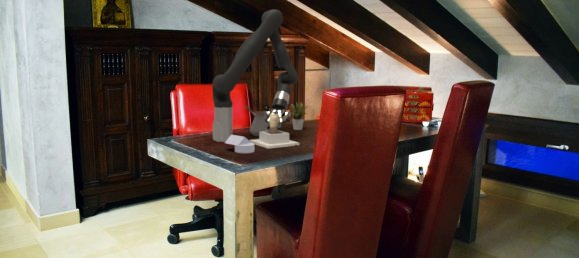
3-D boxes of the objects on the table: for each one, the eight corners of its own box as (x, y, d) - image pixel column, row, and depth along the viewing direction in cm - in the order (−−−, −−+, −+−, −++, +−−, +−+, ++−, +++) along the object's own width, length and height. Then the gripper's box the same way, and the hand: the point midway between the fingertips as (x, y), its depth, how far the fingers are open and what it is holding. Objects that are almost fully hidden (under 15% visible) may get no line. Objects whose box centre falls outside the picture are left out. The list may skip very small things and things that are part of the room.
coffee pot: (274, 135, 269) (274, 108, 267) (256, 137, 263) (257, 109, 260) (253, 130, 286) (253, 104, 284) (236, 132, 279) (236, 105, 277)
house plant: (310, 131, 284) (311, 103, 282) (286, 131, 285) (287, 102, 282) (310, 127, 298) (310, 100, 296) (287, 127, 299) (287, 100, 296)
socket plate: (267, 148, 234) (267, 136, 233) (249, 142, 249) (249, 131, 248) (299, 145, 244) (299, 133, 243) (279, 139, 259) (279, 128, 258)
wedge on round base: (224, 150, 229) (245, 154, 221) (224, 135, 228) (245, 139, 220) (237, 147, 236) (258, 151, 228) (237, 133, 235) (258, 136, 227)
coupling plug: (271, 139, 243) (271, 115, 241) (266, 138, 246) (266, 114, 244) (281, 138, 246) (282, 114, 244) (277, 137, 250) (277, 113, 248)
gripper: (265, 96, 252) (257, 123, 242) (292, 98, 248) (285, 125, 238) (269, 106, 258) (261, 132, 248) (295, 107, 254) (288, 134, 244)
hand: (273, 128), depth 243 cm, fingers closed on coupling plug, 4 cm apart
